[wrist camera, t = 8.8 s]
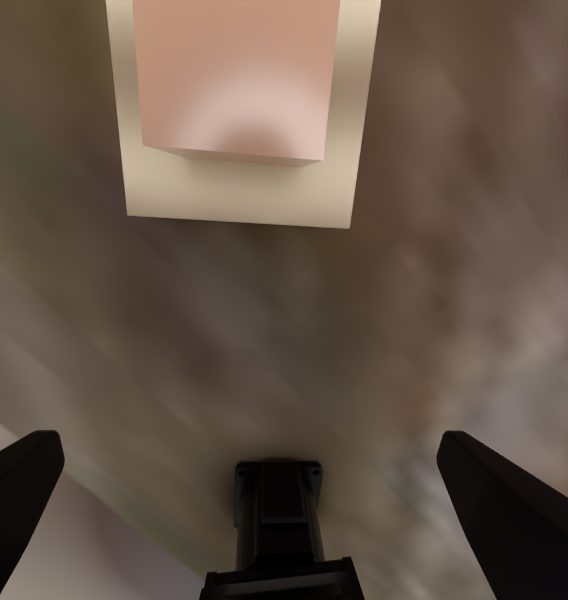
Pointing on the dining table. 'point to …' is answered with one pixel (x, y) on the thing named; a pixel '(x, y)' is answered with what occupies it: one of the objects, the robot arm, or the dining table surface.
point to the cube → (236, 78)
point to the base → (249, 176)
